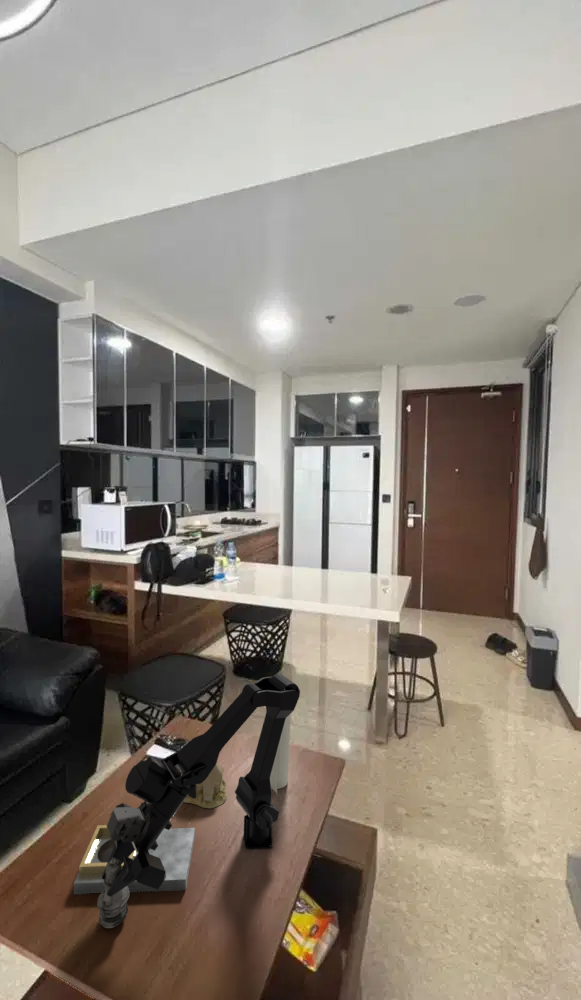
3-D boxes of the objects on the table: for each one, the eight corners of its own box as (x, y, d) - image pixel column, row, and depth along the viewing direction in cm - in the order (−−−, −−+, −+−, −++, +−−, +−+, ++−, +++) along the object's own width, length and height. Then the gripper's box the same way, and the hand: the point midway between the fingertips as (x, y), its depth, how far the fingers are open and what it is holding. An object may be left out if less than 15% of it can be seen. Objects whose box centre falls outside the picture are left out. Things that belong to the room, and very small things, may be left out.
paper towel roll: (275, 771, 128) (278, 702, 126) (292, 780, 124) (294, 709, 122) (260, 785, 122) (262, 713, 120) (276, 795, 118) (279, 721, 117)
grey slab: (194, 837, 104) (195, 822, 104) (185, 890, 91) (186, 872, 91) (97, 840, 102) (97, 824, 102) (73, 894, 89) (73, 876, 89)
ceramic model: (230, 779, 124) (231, 746, 123) (224, 810, 113) (225, 774, 112) (182, 777, 124) (182, 744, 123) (170, 807, 113) (171, 771, 112)
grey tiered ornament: (118, 933, 81) (117, 874, 80) (90, 925, 82) (90, 868, 81) (135, 902, 87) (135, 847, 86) (109, 895, 88) (109, 841, 87)
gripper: (120, 766, 92) (64, 839, 87) (148, 827, 77) (83, 919, 72) (157, 785, 98) (106, 855, 92) (189, 845, 83) (131, 933, 77)
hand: (106, 886), depth 83 cm, fingers closed on grey tiered ornament, 4 cm apart
